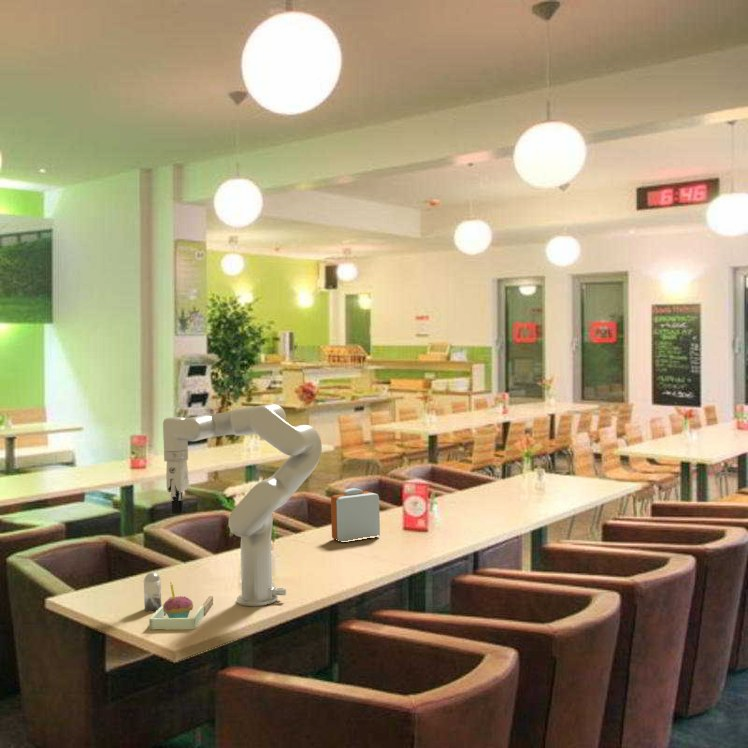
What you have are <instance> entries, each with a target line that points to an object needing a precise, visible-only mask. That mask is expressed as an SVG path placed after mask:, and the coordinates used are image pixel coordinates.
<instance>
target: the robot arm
mask: <svg viewBox="0 0 748 748" xmlns="http://www.w3.org/2000/svg"><path fill="white" fill-rule="evenodd" d="M162 432H163V433H162V435H163V438H162V439H163V461H164V462H166V474H165V475H166V480H165V481H166V483H165V484H166V491H167V492H168V493H170V497H171V514H182V513H183V512H184V491H186V490H187V489H188V488H189V487H190V486H189V484H190V481H189V469H188V468H189V467H188V460H189V447H188V446H189V444H188V443H189V442H197V441H201V440H204V439H208V438H215V437H222V436H230V435H235V436H236V437H241V436H243V437H244V436H249V435H256V434H257V436H259V437H260V438H262V439H263V440H265V442H267V443H269V444H270V445H271V446H273V447H274V449H276V450H278V451H279V452H281V453H282V454H283V455H287V456H290V457H288V458H287V459H285V461H284V462H283V463H282V464H281V466H280V467H279V468H278V469H277V470H276V471H275V472H274V473H273V475H271V476H270V477H268V478H266V479H264V480H261V481H259V482H258V483H256V484H255V485H254V486H253V487H251V489H250V490H249V491H248V492H247V494H246V495H245V496H244V497H243V498H242V499H241V500H240V501H239V502H238V503H237V504H236V506H235V507H234V508H233V509H232V510H231V512H230V514H229V516H228V527H229V530H230V532H231V533H232V534H234V535H235V536H236V537H239V538H240V569H241V571H240V572H241V573H240V574H241V576H240V577H241V594H240V595H238V596H237V597H236V602H237V604H238V605H241V606H247V607H261V606H267V604H268V605H271V604H273V602H274V603H275V602H277V600H278V596H287V588H284V587H275V583H273V568H272V563H273V561H272V532H273V531H272V530H273V524H274V523H273V521H274V517H273V512H275V511H276V510H277V509H279V508H281V507H283V505H284V506H285V504H287V503H288V502H289V499H290V498H291V497H292V496H293V495H294V494H295V493H296V492H297V490H298V489H299V488H300V487H301V486H302V485H303V483H304V482H305V481H306V480H307V479H308V477H309V476H310V475H311V473H313V471H315V469H316V467H317V465H318V463H319V461H320V458H321V457H322V452H323V451H322V449H323V446H322V445H323V444H322V440H321V437H320V433H319V432H318V431H317V429H315V428H314V427H313V426H311V425H308V424H299V425H295V426H294V425H293V426H292V425H291V424H289V422H287V415H286V411H285V410H284V408H283V407H281V406H280V405H278V404H275V403H269V404H262V405H257V406H255V405H254V406H248V407H243V408H241V407H240V408H236V409H235V408H234V409H232V410H229V411H223V412H216V413H212V414H211V413H210V414H205V415H198V416H193V417H188V418H186V417H182V416H173V417H172V416H171V417H166V418H164V420H163V422H162Z"/></svg>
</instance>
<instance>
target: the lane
mask: <svg viewBox="0 0 748 748" xmlns="http://www.w3.org/2000/svg"><path fill="white" fill-rule="evenodd" d="M171 598H173V596H169V597H168V599H167V600H169V599H171ZM164 604H165V602H164V603H163V604H161V606H163V605H164ZM202 605H204V616H206V615H207V614H208V612H209V611H210V609H212V607H213V605H214V596H213V595H211V596H210V595H209V596H208V597H207V599H205V600H204V603H203V604H202ZM166 615H167V613H166V612H164V617H165V616H166Z"/></svg>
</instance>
